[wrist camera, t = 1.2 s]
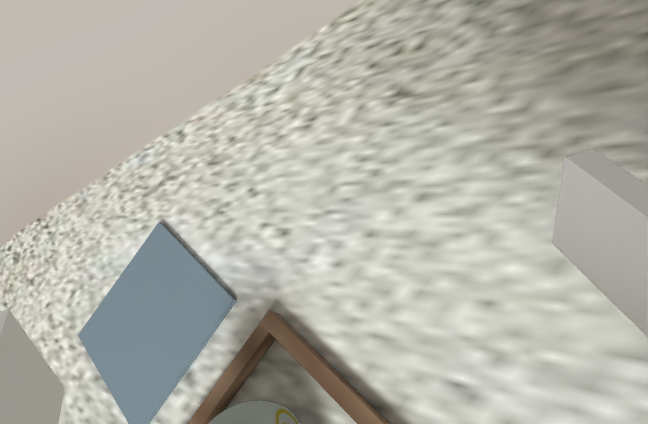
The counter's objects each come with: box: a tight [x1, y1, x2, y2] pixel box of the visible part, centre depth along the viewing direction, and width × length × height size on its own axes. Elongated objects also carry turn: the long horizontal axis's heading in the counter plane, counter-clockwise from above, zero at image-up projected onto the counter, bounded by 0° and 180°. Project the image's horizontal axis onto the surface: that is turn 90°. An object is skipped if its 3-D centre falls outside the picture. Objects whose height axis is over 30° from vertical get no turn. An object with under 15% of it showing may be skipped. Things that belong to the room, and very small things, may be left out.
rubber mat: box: [78, 222, 236, 424], centre depth 49 cm, size 14×14×1 cm
